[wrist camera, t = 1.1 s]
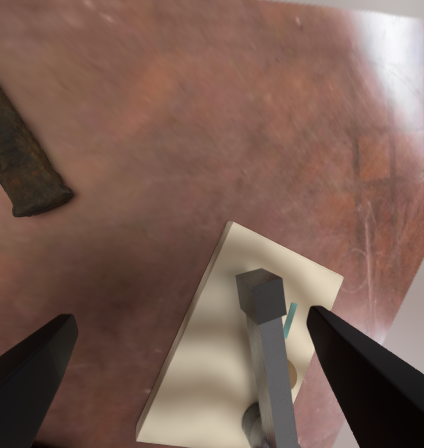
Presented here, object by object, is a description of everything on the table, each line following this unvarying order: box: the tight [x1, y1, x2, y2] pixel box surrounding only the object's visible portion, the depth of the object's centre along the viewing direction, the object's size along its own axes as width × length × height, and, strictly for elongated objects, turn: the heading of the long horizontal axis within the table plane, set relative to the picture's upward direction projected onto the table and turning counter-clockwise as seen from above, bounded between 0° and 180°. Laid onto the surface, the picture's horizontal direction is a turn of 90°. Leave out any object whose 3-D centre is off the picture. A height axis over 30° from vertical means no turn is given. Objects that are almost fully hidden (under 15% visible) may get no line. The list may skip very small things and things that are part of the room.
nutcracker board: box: [136, 221, 344, 448], centre depth 23 cm, size 22×16×4 cm
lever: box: [235, 268, 301, 448], centre depth 20 cm, size 20×4×6 cm, turn 10°
